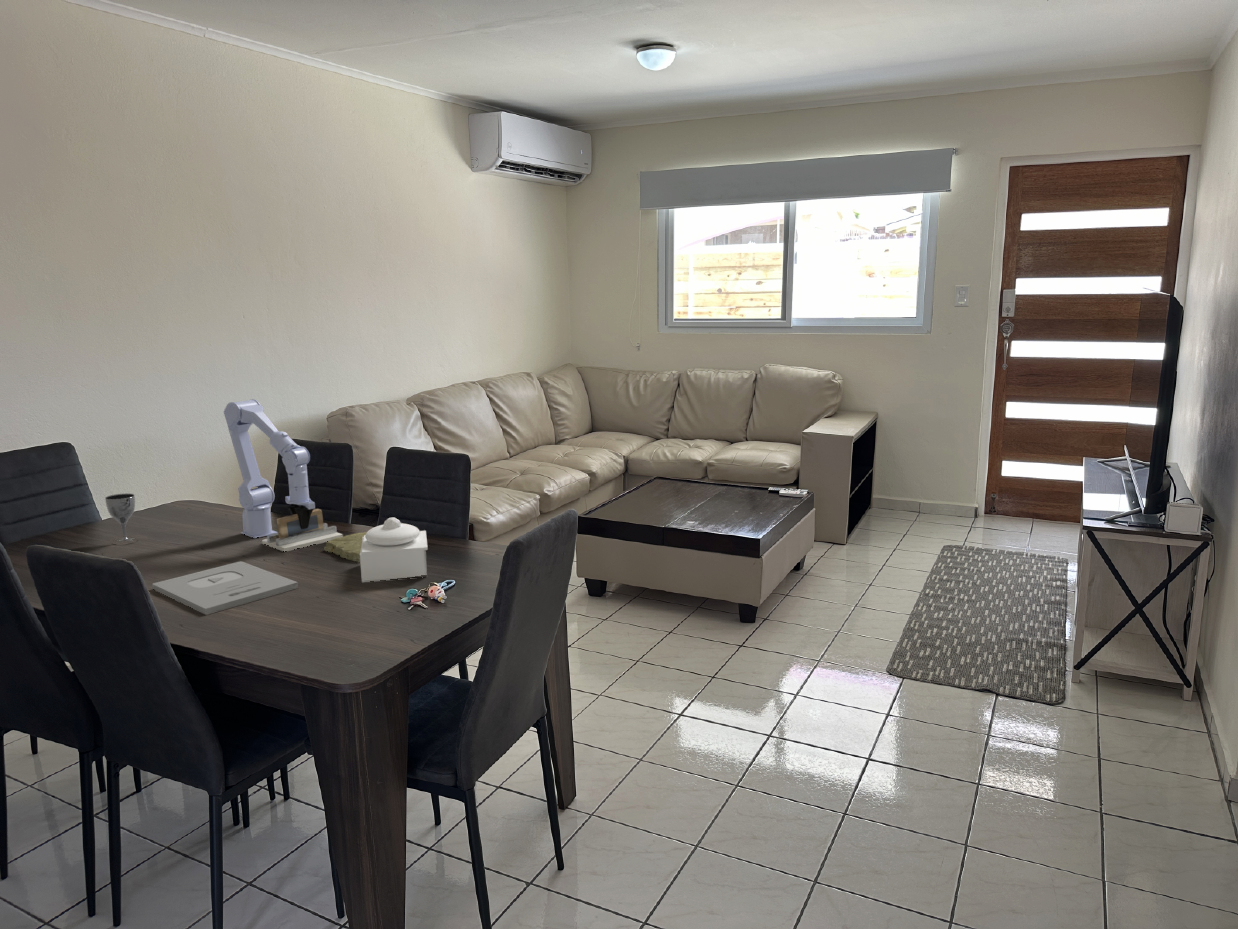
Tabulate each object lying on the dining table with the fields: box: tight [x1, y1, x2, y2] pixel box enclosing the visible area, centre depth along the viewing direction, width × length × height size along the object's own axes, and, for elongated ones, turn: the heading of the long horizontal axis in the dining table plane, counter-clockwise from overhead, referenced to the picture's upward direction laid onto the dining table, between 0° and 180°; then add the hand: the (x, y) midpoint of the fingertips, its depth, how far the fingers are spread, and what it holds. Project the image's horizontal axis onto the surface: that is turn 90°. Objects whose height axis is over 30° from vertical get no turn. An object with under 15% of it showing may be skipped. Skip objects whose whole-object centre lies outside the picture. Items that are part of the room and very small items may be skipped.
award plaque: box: [151, 560, 299, 616], centre depth 225 cm, size 25×30×2 cm
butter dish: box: [359, 517, 429, 583], centre depth 239 cm, size 18×18×16 cm
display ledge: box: [261, 522, 344, 553], centre depth 269 cm, size 14×20×3 cm
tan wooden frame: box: [276, 508, 324, 538], centre depth 268 cm, size 3×14×7 cm, turn 140°
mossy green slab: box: [323, 530, 369, 563], centre depth 259 cm, size 19×20×4 cm
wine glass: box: [105, 492, 136, 541], centre depth 268 cm, size 8×8×15 cm
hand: (302, 527), depth 269 cm, fingers closed on tan wooden frame, 3 cm apart
